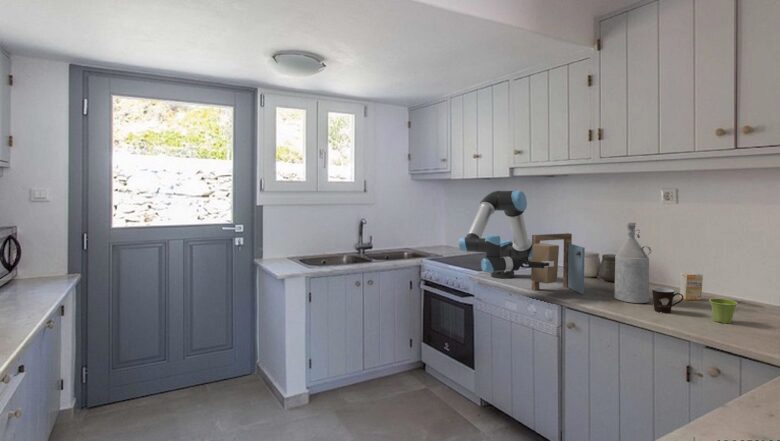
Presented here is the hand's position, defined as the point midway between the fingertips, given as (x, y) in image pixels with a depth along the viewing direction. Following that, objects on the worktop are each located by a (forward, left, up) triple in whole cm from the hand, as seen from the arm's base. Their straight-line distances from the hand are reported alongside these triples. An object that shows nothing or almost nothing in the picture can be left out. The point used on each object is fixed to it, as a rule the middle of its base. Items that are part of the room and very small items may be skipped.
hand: (546, 261), depth 231 cm
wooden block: (0, -1, -11) cm, 11 cm away
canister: (+24, +33, -18) cm, 45 cm away
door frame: (-11, +11, -18) cm, 24 cm away
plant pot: (+63, +42, -18) cm, 78 cm away
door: (-1, +18, -17) cm, 25 cm away
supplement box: (+31, +62, -18) cm, 72 cm away
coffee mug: (+45, +32, -18) cm, 58 cm away
